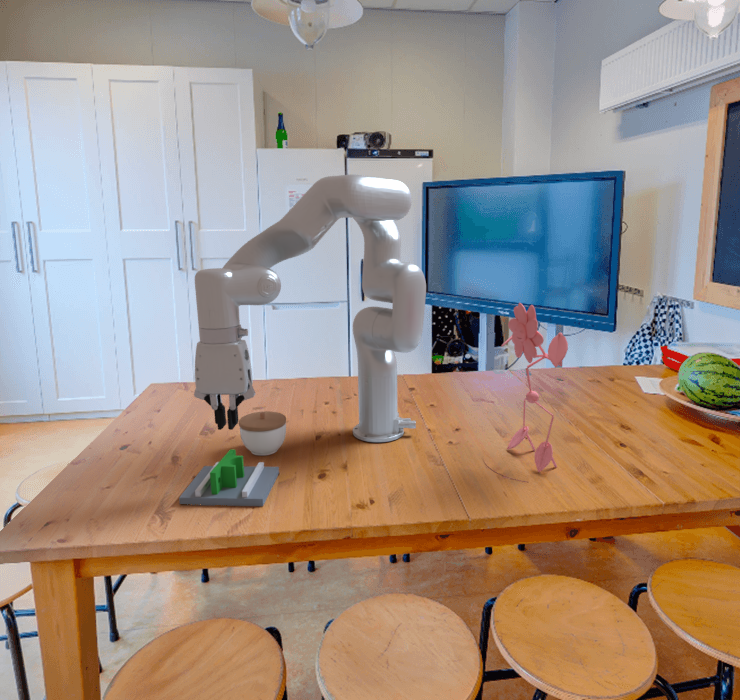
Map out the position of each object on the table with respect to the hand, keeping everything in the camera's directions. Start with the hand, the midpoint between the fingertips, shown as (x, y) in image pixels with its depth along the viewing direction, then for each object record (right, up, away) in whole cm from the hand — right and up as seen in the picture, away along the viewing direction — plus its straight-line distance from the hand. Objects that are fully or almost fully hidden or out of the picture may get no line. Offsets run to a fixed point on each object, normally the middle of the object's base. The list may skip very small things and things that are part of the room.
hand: (227, 426), depth 112 cm
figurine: (+60, -10, +13) cm, 62 cm away
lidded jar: (+3, -9, +21) cm, 23 cm away
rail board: (0, -13, +3) cm, 13 cm away
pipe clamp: (0, -11, +3) cm, 12 cm away
